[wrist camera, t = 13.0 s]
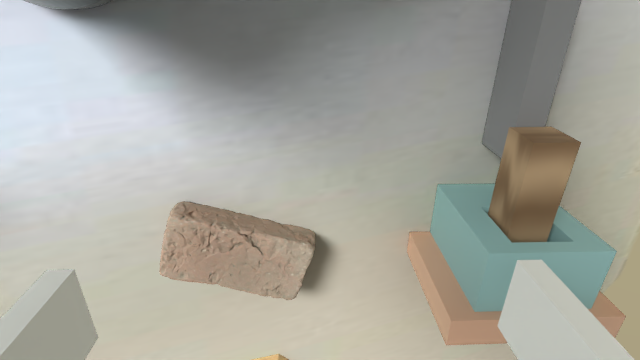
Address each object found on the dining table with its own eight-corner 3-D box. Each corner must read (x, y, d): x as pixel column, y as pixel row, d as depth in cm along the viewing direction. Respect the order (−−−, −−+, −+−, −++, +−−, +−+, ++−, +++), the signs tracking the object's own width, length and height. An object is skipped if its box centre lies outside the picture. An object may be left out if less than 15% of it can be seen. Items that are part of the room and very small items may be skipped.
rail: (515, -18, 34) (552, -21, 29) (545, -17, 34) (587, -21, 29) (481, 143, 40) (506, 162, 35) (506, 142, 41) (534, 162, 36)
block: (437, 184, 42) (489, 253, 31) (531, 183, 43) (616, 251, 31) (429, 231, 45) (474, 311, 34) (517, 230, 46) (591, 308, 34)
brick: (317, 227, 45) (318, 251, 40) (298, 280, 48) (297, 307, 44) (178, 194, 42) (164, 215, 38) (168, 252, 45) (154, 278, 41)
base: (409, 232, 45) (451, 321, 33) (537, 229, 46) (626, 316, 33) (407, 252, 46) (446, 345, 34) (530, 249, 47) (614, 340, 35)
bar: (509, 127, 34) (533, 143, 30) (551, 126, 34) (581, 142, 30) (480, 242, 40) (498, 267, 36) (516, 241, 40) (538, 266, 36)
